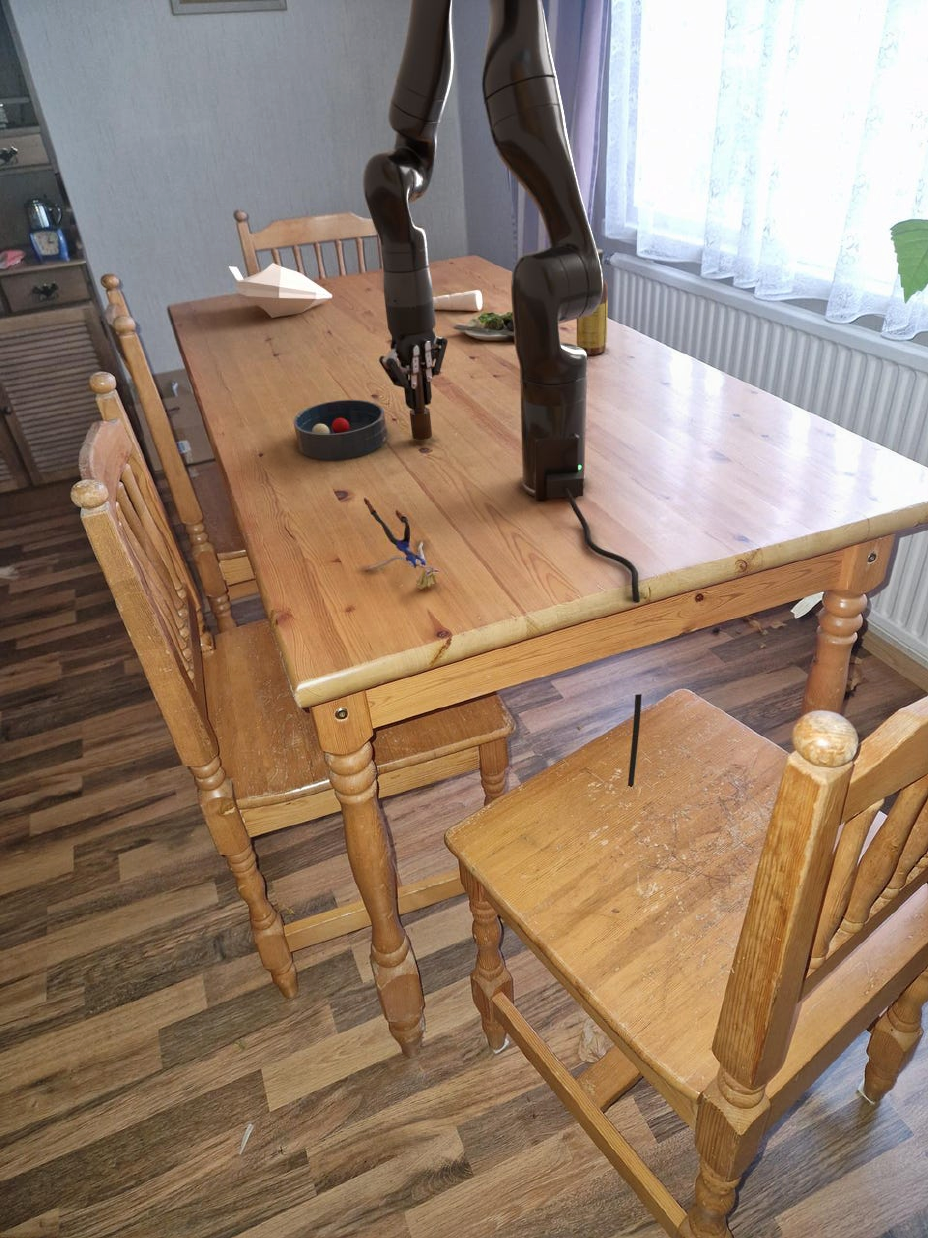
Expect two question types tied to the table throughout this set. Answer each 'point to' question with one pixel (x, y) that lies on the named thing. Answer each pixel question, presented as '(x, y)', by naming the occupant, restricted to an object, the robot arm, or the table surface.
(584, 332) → the sauce bottle
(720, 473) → the table surface
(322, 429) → the cream ball
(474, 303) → the unicorn horn
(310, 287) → the white faceted piece
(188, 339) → the table surface
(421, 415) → the brown stepped wooden peg
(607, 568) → the table surface
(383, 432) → the bowl
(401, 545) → the figurine
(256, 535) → the table surface
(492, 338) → the salad plate
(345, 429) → the red ball
